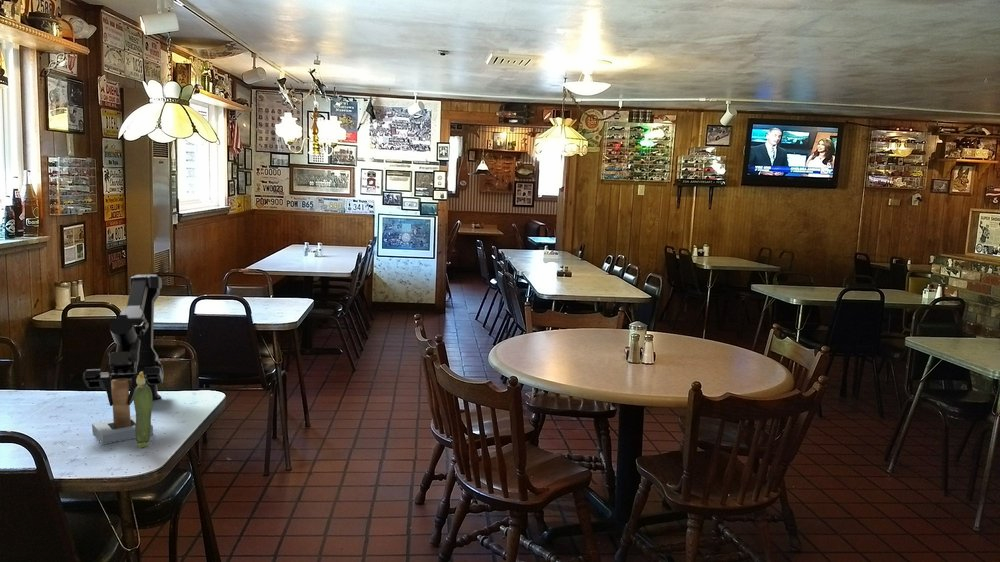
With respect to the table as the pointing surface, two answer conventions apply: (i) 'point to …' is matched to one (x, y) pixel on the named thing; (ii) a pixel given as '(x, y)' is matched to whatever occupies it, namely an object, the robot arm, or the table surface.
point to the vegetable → (142, 411)
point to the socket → (114, 431)
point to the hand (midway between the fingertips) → (119, 404)
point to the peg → (120, 403)
